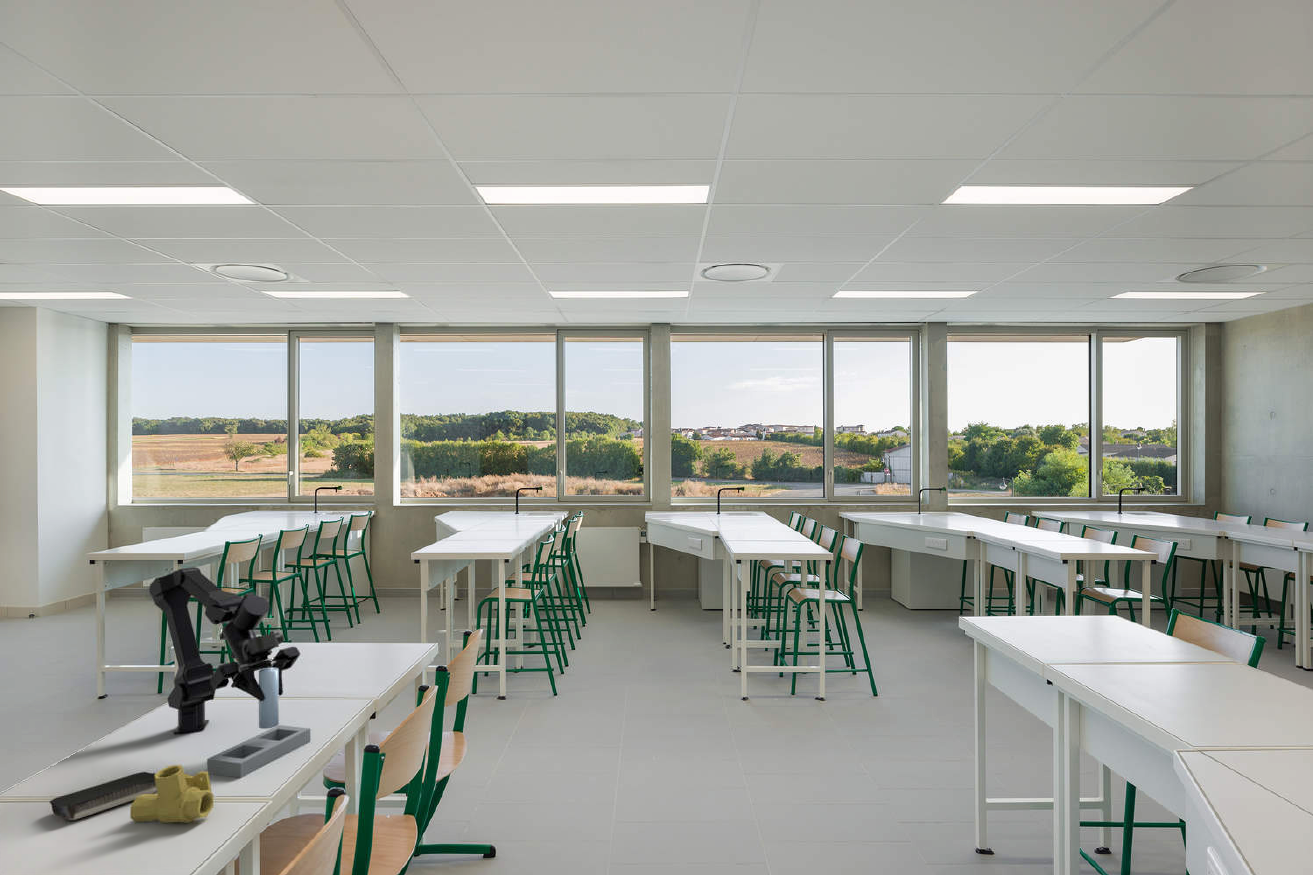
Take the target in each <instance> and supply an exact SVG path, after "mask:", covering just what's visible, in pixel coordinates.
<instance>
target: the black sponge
mask: <svg viewBox="0 0 1313 875" xmlns="http://www.w3.org/2000/svg"><path fill="white" fill-rule="evenodd" d="M156 773H157V772H156ZM156 773H155V772H153V773H152V772H148V771H142V772H136V773H134V774H130V775H127V776H123V777H120V778H117V779H114V780H109V781H107V782H104V783H101V784H97V785H94V786H90V787H87V788H85V789H81V790H77V791H75V792H71V793H68V794H64V795H61V796H57V797H55V798H53V799H50V800H49V804H50V805H51V810H52V813H53V814H55V815H57V816H61V818H62V819H63V820H68V821H69V820H70V821H75V820H78V819H81V818H84V817H87V816H91V815H94V814H97V813H99V812H102V811H105V810H108V809H112V808H113V807H117V806H120V805H123V804H126V803H129V802H133V801H134V800H135V799H136V797H137V796H140V795H143V794H155V793H157V788H156V782H155V776H154V775H155V774H156Z"/></svg>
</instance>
